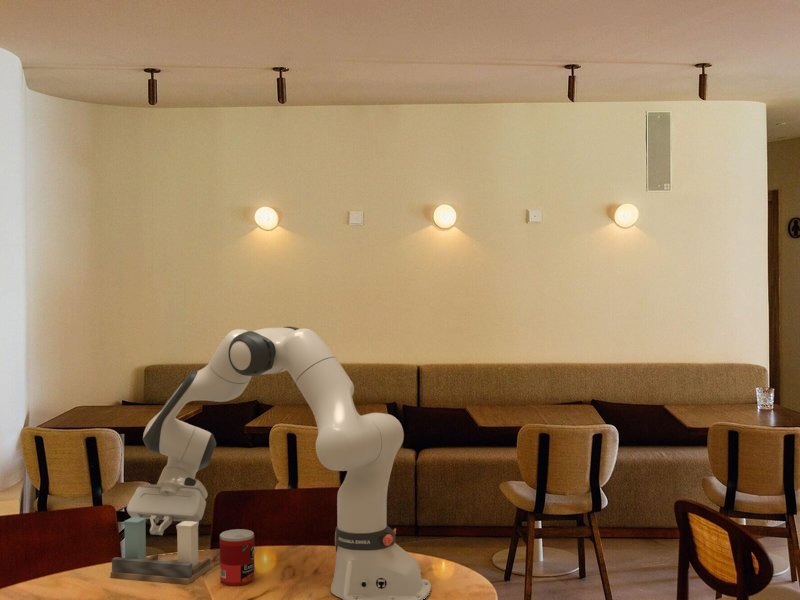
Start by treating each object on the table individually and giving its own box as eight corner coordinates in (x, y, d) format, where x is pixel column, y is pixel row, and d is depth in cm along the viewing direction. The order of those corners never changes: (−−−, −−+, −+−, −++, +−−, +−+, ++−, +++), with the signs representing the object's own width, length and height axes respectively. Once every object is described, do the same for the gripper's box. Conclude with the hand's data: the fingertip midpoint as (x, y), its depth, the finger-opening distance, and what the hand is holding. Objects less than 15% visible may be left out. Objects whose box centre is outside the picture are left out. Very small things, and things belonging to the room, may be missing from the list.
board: (211, 567, 207) (211, 550, 207) (187, 584, 195) (187, 566, 195) (138, 561, 212) (138, 544, 212) (110, 577, 200) (110, 560, 200)
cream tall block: (199, 566, 203) (198, 521, 203) (191, 572, 199) (191, 526, 199) (184, 565, 204) (184, 520, 204) (176, 570, 200) (176, 525, 200)
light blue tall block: (146, 562, 206) (146, 518, 206) (138, 567, 203) (137, 522, 202) (132, 561, 207) (132, 517, 207) (124, 566, 204) (123, 521, 203)
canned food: (247, 587, 193) (246, 539, 193) (214, 585, 195) (213, 537, 194) (259, 576, 201) (259, 529, 200) (227, 574, 202) (227, 528, 202)
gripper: (134, 477, 224) (113, 524, 215) (205, 481, 219) (187, 530, 210) (143, 490, 228) (123, 537, 219) (213, 494, 223) (196, 542, 214)
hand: (155, 533), depth 214 cm, fingers closed
